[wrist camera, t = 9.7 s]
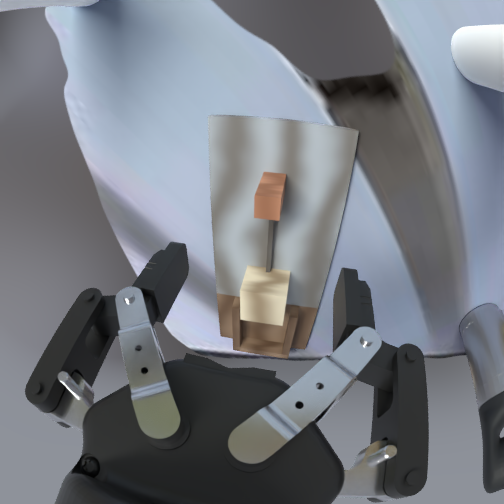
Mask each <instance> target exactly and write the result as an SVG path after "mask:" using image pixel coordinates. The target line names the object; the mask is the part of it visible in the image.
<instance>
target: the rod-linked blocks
mask: <svg viewBox="0 0 504 504" xmlns="http://www.w3.org/2000/svg"><path fill="white" fill-rule="evenodd" d="M285 184H286V174H282V173H273V172H264V173H263V175H262V178H261V180H260V183H259V185H258V188H257V190H256V193H255V195H254V218H259V219H268V220H269V228H268V244H267V260H266V268H265V267H257V266H250V265H247V269H246V272H245V275H244V279H243V282H242V285H241V289H240V320H246V321H252V322H259V323H266V324H273V325H280V326H283V320H284V313H285V307H286V300H287V293H288V286H289V278H290V271H288V270H280V269H272V268H271V260H272V247H273V233H274V220H276V221H279V220H280V215H281V210H282V205H283V200H284V195H285Z"/></svg>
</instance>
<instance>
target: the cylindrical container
mask: <svg viewBox="0 0 504 504" xmlns="http://www.w3.org/2000/svg"><path fill="white" fill-rule="evenodd" d="M451 52H452V57H453V59H454V62H455V64H456V66H457V68H458V70H459V71H460V72H461V74H462V75H463V76H464V77H465V78H466V79H468V80H469V81H470V82H472V83H474V84H478V85H481V86H485V87H488V88H491V89H494V90H497V91H500V92H503V93H504V25H481V26H468V27H462V28H460V29H458V30H457V31H456V32H455V33H454V35H453V37H452V40H451Z"/></svg>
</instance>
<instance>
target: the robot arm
mask: <svg viewBox="0 0 504 504" xmlns="http://www.w3.org/2000/svg"><path fill="white" fill-rule="evenodd" d="M188 272H189V264H188V257H187V249H186V245H185V244H184V243H177V242H170V243H169V245H168V246H167V248H166V249H165V250H160V251H158V252H157V253H156V254H154V255H153V256H152V258H151V259H150V261H149V263H147V265H146V266H145V268H144V269H143V271H142V272H141V274H140V275H139V276H138V278H137V280H136V281H135V283H134V284H133V285H132V287H127V288H124V289H122V290H121V291H120V292H118V294H117V295H115V296H114V295H113V296H102V294H101V292H100V290H98V289H96V288H90V289H86V290H85V291H83V292H82V293H81V294H80V295H79V296H78V298H77V299H76V301H75V303H74V304H73V305H72V307H71V308H70V310H69V311H68V313H67V315H66V316H65V318H64V319H63V321H62V323H61V324H60V326H59V327H58V329H57V331H56V333H55V334H54V336H53V337H52V339H51V341H50V343H49V344H48V346H47V348H46V350H45V351H44V353H43V355H42V356H41V358H40V360H39V362H38V364H37V366H36V368H35V369H34V371H33V373H32V375H31V377H30V379H29V381H28V383H27V385H26V389H25V394H26V397H27V399H28V400H29V401H30V402H31V403H32V404H33V405H35V406H36V407H37V408H38V409H39V410H40V411H41V412H42V413H43V414H45V415H46V416H47V417H49V418H50V419H52V420H53V421H55V422H57V423H58V424H60V425H61V426H63V427H66V428H69V427H73V428H75V429H77V430H79V431H81V432H83V450H82V455H81V458H80V460H79V461H78V463H77V464H76V465H75V467H74V468H73V469H72V470H71V471H70V472H69V473H68V475H67V476H66V477H65V479H64V481H63V483H62V486H61V488H60V491H59V494H58V497H57V499H56V502H55V504H331V503H332V502H333V501H334V500H335V498H336V497H345V498H367V499H368V500H369V501H372V502H383V501H388V500H393V499H399V498H403V497H408V496H412V495H415V494H417V493H418V492H419V491H421V489H422V488H423V487H424V485H425V483H426V480H427V469H428V439H429V437H428V436H429V435H428V434H429V432H428V431H429V430H428V399H427V386H426V373H425V364H424V356H423V353H422V351H421V350H420V349H419V348H418V347H417V346H415V345H413V344H403V345H401V346H400V347H399V348H397V347H394V346H392V345H389V344H387V343H385V342H384V341H382V339H381V336H380V335H379V333H378V332H377V331H376V330H375V322H374V314H373V306H372V299H371V292H370V288H369V287H368V285H367V283H366V282H365V281H360V280H358V273H357V270H355V269H349V268H342V269H341V272H340V275H339V279H338V282H337V285H336V288H335V292H334V299H333V353H332V354H331V355H330V356H328V355H327V356H325V357H324V358H322V359H321V360H320V361H319V362H318V363H317V364H316V365H315V366H314V367H313V368H312V369H311V370H309V371H308V372H307V373H306V374H305V375H304V376H303V377H302V378H301V379H300V380H298V381H297V382H296V383H295V384H294V385H292V386H291V387H290V386H289V385H288V384H286V383H285V382H284V381H282V380H280V379H277V378H275V375H276V371H270V370H264V369H258V368H227V367H225V366H222V365H220V364H218V363H216V362H214V361H212V360H210V359H208V358H204V357H200V356H196V355H192V354H188V353H186V355H185V358H184V359H177V360H172V361H169V362H166V363H165V360H164V358H163V355H162V352H161V349H160V346H159V343H158V339H157V336H156V333H155V329H154V324H155V322H156V321H158V322H161V323H164V321H165V319H166V317H167V315H168V313H169V311H170V309H171V307H172V305H173V303H174V301H175V299H176V297H177V295H178V293H179V292H180V290H181V288H182V286H183V284H184V282H185V280H186V278H187V276H188ZM459 329H460V333H461V336H462V340H463V343H464V347H465V351H466V354H467V358H468V362H469V366H470V370H471V375H472V378H473V384H474V389H475V394H476V399H477V404H478V410H479V416H480V422H481V429H482V438H483V484H484V488H485V490H486V492H487V493H493V492H496V491H499V490H501V489H504V437H503V438H500V436H499V435H500V432H501V430H502V429H503V427H504V315H503V313H502V310H499V309H498V307H497V306H496V305H495V304H485V305H482V306H479V307H477V308H476V309H474V310H472V311H471V312H470V313H469V314H468V315H466V317H465V318H464V319H463V320H462V322H461V324H460V328H459ZM116 336H119V340H120V345H121V350H122V355H123V359H124V364H125V368H126V373H127V377H128V380H129V384H128V385H126V386H124V387H122V388H121V389H119V390H117V391H115V392H114V393H112V394H110V395H108V396H107V397H105V398H103V399H101V400H99V401H98V402H96V403H94V402H93V399H94V391H93V389H92V385H93V383H94V381H95V379H96V376H97V374H98V372H99V370H100V368H101V366H102V364H103V361H104V359H105V357H106V355H107V353H108V351H109V349H110V347H111V345H112V343H113V341H114V339H115V337H116ZM357 380H359V381H361V382H364V383H366V384H369V385H372V386H374V403H373V404H374V405H373V421H372V432H371V443H370V446H368V447H367V448H365V449H363V450H362V451H360V453H359V454H358V455H357V457H356V460H355V463H354V465H353V466H352V467H351V468H350V469H349V470H344V468H343V465H342V462H341V461H340V459H339V458H338V456H337V455H336V453H335V452H334V450H333V449H332V447H331V446H330V444H329V443H328V441H327V440H326V438H325V437H324V435H323V434H322V432H321V430H320V429H319V427H318V426H317V423H318V422H319V421H320V420H321V419H322V418H323V417H324V416H325V415H326V414H327V413H328V412H329V411H330V410H331V409H332V408H333V407H334V405H335V404H336V403H337V402H338V401H339V400H340V399H341V398H342V397H343V396H344V395H345V393H346V392H347V391H348V390H349V389H350V388H351V387H352V386H353V385H354V384H355V382H356V381H357Z"/></svg>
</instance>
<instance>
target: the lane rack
mask: <svg viewBox="0 0 504 504" xmlns="http://www.w3.org/2000/svg"><path fill="white" fill-rule="evenodd" d="M208 133H209V166H210V191H211V211H212V229H213V246H214V261H215V275H216V288H217V300H218V312H219V323H220V334H221V336H223V337H228V338H233V350H237V351H243V352H248V353H254V354H260V355H267V356H273V357H280V358H287V359H288V356H289V352H290V348H297V349H305V348H306V345H307V342H308V339H309V336H310V333H311V330H312V326H313V323H314V320H315V317H316V313H317V310H318V307H319V303H320V300H321V297H322V293H323V290H324V286H325V283H326V279H327V275H328V272H329V268H330V264H331V260H332V257H333V253H334V249H335V245H336V241H337V237H338V233H339V228H340V224H341V220H342V216H343V211H344V207H345V202H346V197H347V193H348V188H349V183H350V178H351V173H352V168H353V162H354V157H355V151H356V145H357V140H358V133H359V131H358V130H356V129H351V128H345V127H339V126H333V125H327V124H320V123H313V122H305V121H297V120H288V119H278V118H267V117H253V116H234V115H209V116H208ZM264 172H273V173H282V174H286V184H285V195H284V200H283V205H282V210H281V215H280V220H279V221H276V220H274V233H273V247H272V260H271V268H272V269H280V270H288V271H290V278H289V286H288V293H287V300H286V307H285V313H284V320H283V326H280V325H273V324H266V323H259V322H252V321H246V320H240V289H241V285H242V282H243V279H244V275H245V272H246V269H247V265H250V266H257V267H265V268H266V260H267V244H268V228H269V220H268V219H259V218H254V195H255V193H256V190H257V188H258V185H259V183H260V180H261V178H262V175H263V173H264Z"/></svg>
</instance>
